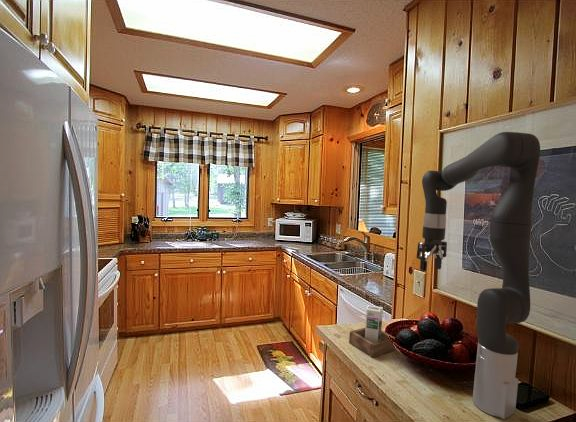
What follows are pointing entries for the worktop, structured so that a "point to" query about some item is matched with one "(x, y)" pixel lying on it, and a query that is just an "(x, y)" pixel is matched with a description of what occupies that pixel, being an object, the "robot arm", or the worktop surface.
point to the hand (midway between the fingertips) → (430, 269)
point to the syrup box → (373, 323)
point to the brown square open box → (368, 347)
